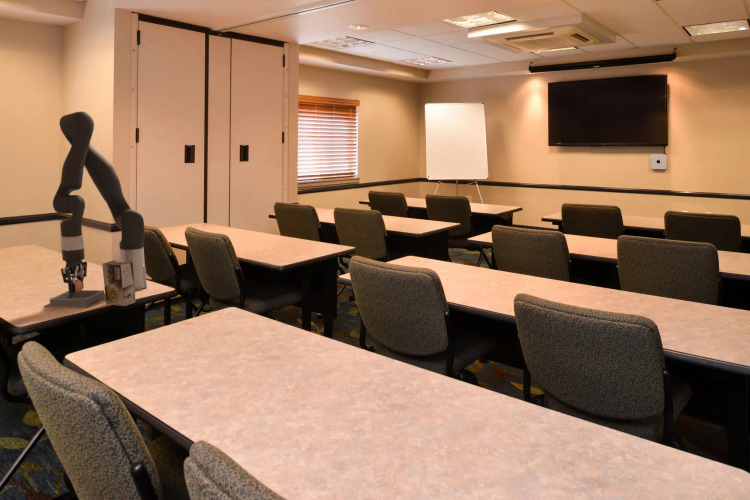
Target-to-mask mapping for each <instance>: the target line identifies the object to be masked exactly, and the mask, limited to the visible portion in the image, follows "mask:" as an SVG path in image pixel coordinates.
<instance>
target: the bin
mask: <svg viewBox="0 0 750 500" xmlns="http://www.w3.org/2000/svg"><path fill="white" fill-rule="evenodd" d="M103 299H106V297H105V289H103V290H99V289H93V290H91V289H82V290H81V291H80V292H76V293H69V290H67V291H65V292H62V293H60V294H57V295H56V296H54V297H52V298H50V299H49V303H50V308H85V309H86V308H88V307H90V306H92V305H94V304H96V303H97V302H100V301H101V300H103Z"/></svg>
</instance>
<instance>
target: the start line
mask: <svg viewBox="0 0 750 500" xmlns="http://www.w3.org/2000/svg"><path fill="white" fill-rule="evenodd" d="M42 307H43V308H49V307H50V302H49V303H47V304H45V305H43V306H42ZM50 308H51V307H50Z"/></svg>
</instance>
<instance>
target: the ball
mask: <svg viewBox="0 0 750 500" xmlns="http://www.w3.org/2000/svg"><path fill="white" fill-rule="evenodd" d="M83 285H84V282H83V283H82V282H81V281H80V280H78V279H75V290H76V292H80V291H81V290H84V288H83ZM76 292H75V293H76Z"/></svg>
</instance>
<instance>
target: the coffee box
mask: <svg viewBox="0 0 750 500" xmlns="http://www.w3.org/2000/svg"><path fill="white" fill-rule="evenodd" d="M101 265H102V276H103V285H104V297H105V304H106V305H110V306H113V305H114V306H122V307H126V306H128V305H132V304H134V303H136V290H135V289H134V275H133V262H128V261H121V260H116V259H115V260H110V261H108V262H103V263H102V264H101Z"/></svg>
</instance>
